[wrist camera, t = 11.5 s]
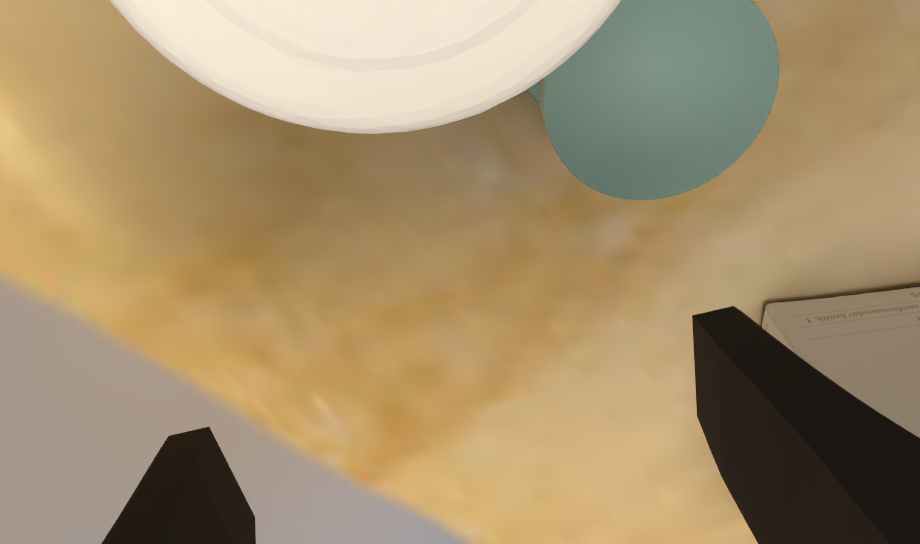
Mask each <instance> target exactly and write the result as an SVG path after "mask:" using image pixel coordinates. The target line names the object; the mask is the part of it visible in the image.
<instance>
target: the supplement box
mask: <svg viewBox="0 0 920 544" xmlns="http://www.w3.org/2000/svg"><path fill="white" fill-rule="evenodd" d="M762 328H763V329H764V330H766V331H767V332H768V333H769V334H771V335H772V336H773V337H775V338H776V339H777V340H778V341H780V342H781V343H782V344H784V345H785V346H786V347H788V348H789V349H790V350H791V351H793V352H794V353H795V354H797V355H798V356H799V357H801V358H802V359H803V360H805V361H806V362H807V363H809V364H810V365H811V366H813V367H814V368H815V369H817V370H818V371H820V372H821V373H822V374H824V375H825V376H827V377H828V378H829V379H831V380H832V381H834V382H835V383H837V384H838V385H839V386H841V387H842V388H844V389H845V390H847V391H848V392H849V393H851V394H852V395H854V396H855V397H856V398H858V399H859V400H861V401H862V402H864V403H865V404H867V405H868V406H870V407H871V408H873V409H874V410H876V411H877V412H879V413H881V414H882V415H884V416H885V417H887V418H889V419H890V420H892V421H893V422H895V423H896V424H898V425H900V426H901V427H903V428H904V429H906V430H908V431H909V432H911V433H913V434H914V435H916V436H918V437H919V438H920V287H913V288H906V289H899V290H890V291H882V292H873V293H864V294H857V295H847V296H838V297H832V298H822V299H811V300H801V301H790V302H778V303H770V304H767V305H766V307H765V312H764V317H763V322H762Z"/></svg>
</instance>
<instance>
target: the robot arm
mask: <svg viewBox="0 0 920 544" xmlns="http://www.w3.org/2000/svg"><path fill="white" fill-rule="evenodd" d="M692 318H693V339H694V359H695V380H696V401H697V417H698V419H699V422H700V424H701V427H702V429H703V432H704V434H705V437H706V440H707V442H708V445H709V447H710V450H711V452H712V455H713V457H714V459H715V462H716V464H717V467H718V469H719V471H720V474H721V476H722V478H723V480H724V482H725V484H726V486H727V488H728V489H729V491H730V493H731V495H732V497H733V499H734V500H735V502H736V504H737V506H738V508H739V510H740V511H741V513H742V515H743V517H744V519H745V520H746V522H747V524H748V526H749V528H750V530H751V531H752V533H753V535H754V537H755V539H756V540H757V542H758V544H920V438H919V437H918V436H916V435H914V434H913V433H911V432H909V431H908V430H906V429H904V428H903V427H901V426H900V425H898V424H896V423H895V422H893V421H892V420H890V419H889V418H887V417H885V416H884V415H882V414H881V413H879V412H877V411H876V410H874V409H873V408H871V407H870V406H868V405H867V404H865V403H864V402H862V401H861V400H859V399H858V398H856V397H855V396H854V395H852V394H851V393H849V392H848V391H847V390H845V389H844V388H842V387H841V386H839V385H838V384H837V383H835V382H834V381H832V380H831V379H829V378H828V377H827V376H825V375H824V374H822V373H821V372H820V371H818V370H817V369H815V368H814V367H813V366H811V365H810V364H809V363H807V362H806V361H805V360H803V359H802V358H801V357H799V356H798V355H797V354H795V353H794V352H793V351H791V350H790V349H789V348H788V347H786V346H785V345H784V344H782V343H781V342H780V341H778V340H777V339H776V338H775V337H773V336H772V335H771V334H769V333H768V332H767V331H766V330H764V329H763V328H762V327H761V326H759V325H758V324H757V323H756V322H754V321H753V320H752V319H751V318H749V317H748V316H747V315H745V314H744V313H743V312H742V311H740V310H739V309H737V308H736V307H734V306H732V307H728V308H723V309H719V310H715V311H710V312H706V313H702V314H697V315H693V316H692ZM102 544H256V540H255V516H254V514H253V512H252V510H251V509H250V506H249V505H248V503H247V501H246V499H245V497H244V495H243V493H242V491H241V489H240V487H239V485H238V483H237V481H236V479H235V477H234V475H233V473H232V471H231V469H230V467H229V465H228V463H227V461H226V459H225V457H224V455H223V453H222V451H221V449H220V447H219V445H218V443H217V441H216V439H215V437H214V435H213V433H212V432H211V430H210V427H206V428H201V429H197V430H193V431H189V432H184V433H180V434H175V435H171V436H168V438H167V440H166V441H165V443H164V444H163V446H162V447H161V449H160V450H159V452H158V454H157V455H156V457H155V458H154V460H153V462H152V463H151V465H150V466H149V468H148V470H147V471H146V473H145V475H144V476H143V478H142V480H141V481H140V483H139V485H138V486H137V488H136V490H135V491H134V493H133V495H132V496H131V498H130V499H129V501H128V503H127V504H126V506H125V507H124V509H123V511H122V512H121V514H120V516H119V517H118V519H117V520H116V522H115V524H114V525H113V527H112V528H111V530H110V531H109V533H108V534H107V536H106V538H105V539H104V541H103V542H102Z"/></svg>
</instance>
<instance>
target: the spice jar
mask: <svg viewBox="0 0 920 544" xmlns="http://www.w3.org/2000/svg"><path fill="white" fill-rule="evenodd" d="M109 1H110V2H111V3H112V4H113V5H114V6H115V8H116V9H117V10H118V11H119V12H120V13H121V14H122V15H123V17H124V18H125V19H126V20H127V21H128V22H129V23H130V25H131V26H132V27H133V28H134V29H135V30H136V31H137V32H138V33H139V34H140V35H141V36H142V37H143V38H144V39H145V40H146V41H147V42H148V43H150V44H151V45H152V46H153V47H154V48H155V49H156V50H157V51H158V52H159V53H160V54H162V55H163V56H164V57H165V58H167V59H168V60H169V61H171V62H172V63H173V64H175V65H176V66H178V67H179V68H180V69H182V70H183V71H184V72H186V73H187V74H189V75H190V76H191V77H193V78H194V79H196V80H197V81H198V82H200V83H202V84H203V85H205V86H207V87H208V88H210V89H212V90H214V91H215V92H217V93H219V94H221V95H222V96H224V97H226V98H228V99H230V100H232V101H234V102H236V103H238V104H240V105H243V106H245V107H247V108H249V109H252V110H254V111H257V112H260V113H262V114H264V115H267V116H270V117H273V118H277V119H280V120H283V121H287V122H291V123H295V124H299V125H304V126H308V127H312V128H317V129H322V130H330V131H338V132H346V133H363V134H381V133H396V132H409V131H414V130H419V129H425V128H430V127H435V126H440V125H444V124H448V123H451V122H455V121H458V120H462V119H465V118H468V117H471V116H474V115H477V114H481V113H483V112H485V111H487V110H488V109H490V108H492V107H494V106H496V105H498V104H500V103H502V102H504V101H506V100H508V99H510V98H512V97H514V96H516V95H518V94H520V93H521V92H523V91H525V90H527V89H528V88H530V87H531V86H533V85H534V84H536V83H537V82H538V81H540V80H541V79H543V78H544V77H546V76H547V75H549V74H550V73H551V72H552V71H554V70H555V69H556V68H558V67H559V66H560V65H561V64H563V63H564V62H565V61H567V60H568V59H569V58H570V57H571V56H572V55H573V54H574V53H575V52H576V51H577V50H579V49H580V48H581V47H582V46H583V45H584V44H585V43H586V42H587V41H588V40H589V38H590V37H591V36H592V35H593V34H594V33H595V32H596V31H597V30H598V29H599V28H600V27H601V25H602V24H603V23H604V22H605V20H606V19H607V18H608V17H609V15H610V14H611V13H612V12H613V10H614V9H615V8H616V7H617V5H618V4H619V2H620V1H621V0H109Z"/></svg>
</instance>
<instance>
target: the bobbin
mask: <svg viewBox="0 0 920 544" xmlns="http://www.w3.org/2000/svg"><path fill="white" fill-rule="evenodd" d="M778 75H779V58H778V50H777V45H776V40H775V38H774V35H773V32H772V29H771V27H770V25H769V23H768V21H767V19H766V18H765V16H764V14H763V13H762V12H761V10H760V9H759V8H758V7H757V5H756V4H755V3H754V2H753V1H752V0H621V1H620V2H619V4H618V5H617V7H616V8H615V9H614V10H613V12H612V13H611V14H610V15H609V17H608V18H607V19H606V20H605V22H604V23H603V24H602V25H601V27H600V28H599V29H598V30H597V31H596V32H595V33H594V34H593V35H592V36H591V37H590V38H589V40H588V41H587V42H586V43H585V44H584V45H583V46H582V47H581V48H580V49H579V50H577V51H576V52H575V53H574V54H573V55H572V56H571V57H570V58H569V59H568V60H567V61H565V62H564V63H563V64H561V65H560V66H559V67H558V68H556V69H555V70H554V71H552V72H551V73H550V74H549V75H547V76H546V77H544V78H543V79H541V80H540V81H538V82H537V83H536V84H534V85H533V86H531V87H530V88H528V91H529V92H530V93H531V94H532V96H533V97H534V98H535V99H536V100H537V101H538V102H539V105H540V112H541V116H542V121H543V124H544V126H545V129H546V131H547V134H548V136H549V138H550V140H551V142H552V144H553V146H554V148H555V150H556V152H557V154H558V156H559V157H560V159H561V161H562V162H563V163H564V164H565V166H566V167H567V168H568V170H569V171H570V172H571V173H572V174H574V175H575V176H576V177H577V178H578V179H579V180H580V181H582V182H583V183H585V184H586V185H588V186H589V187H591V188H593V189H595V190H597V191H599V192H601V193H604V194H607V195H610V196H613V197H618V198H623V199H631V200H652V199H660V198H665V197H670V196H674V195H677V194H681V193H684V192H686V191H689V190H691V189H694V188H696V187H698V186H700V185H702V184H704V183H706V182H707V181H709V180H711V179H712V178H714V177H715V176H717V175H718V174H720V173H721V172H723V171H724V170H725V169H726V168H728V167H729V166H730V165H731V164H732V163H734V162H735V161H736V160H737V159H738V158H739V157H740V156H741V155H742V154H743V153H744V152H745V150H746V149H747V148H748V147H749V145H750V144H751V143H752V142H753V140H754V139H755V138H756V136H757V134H758V133H759V131H760V130H761V128H762V126H763V125H764V123H765V121H766V118H767V116H768V114H769V112H770V109H771V107H772V104H773V101H774V98H775V94H776V89H777V85H778Z"/></svg>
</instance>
